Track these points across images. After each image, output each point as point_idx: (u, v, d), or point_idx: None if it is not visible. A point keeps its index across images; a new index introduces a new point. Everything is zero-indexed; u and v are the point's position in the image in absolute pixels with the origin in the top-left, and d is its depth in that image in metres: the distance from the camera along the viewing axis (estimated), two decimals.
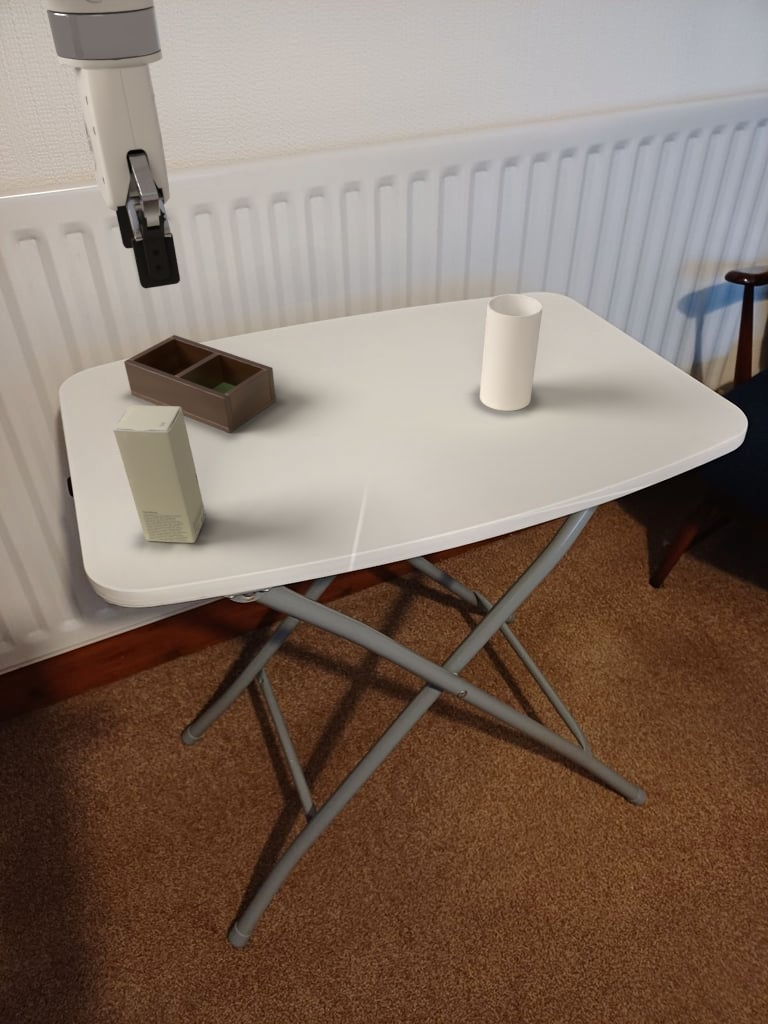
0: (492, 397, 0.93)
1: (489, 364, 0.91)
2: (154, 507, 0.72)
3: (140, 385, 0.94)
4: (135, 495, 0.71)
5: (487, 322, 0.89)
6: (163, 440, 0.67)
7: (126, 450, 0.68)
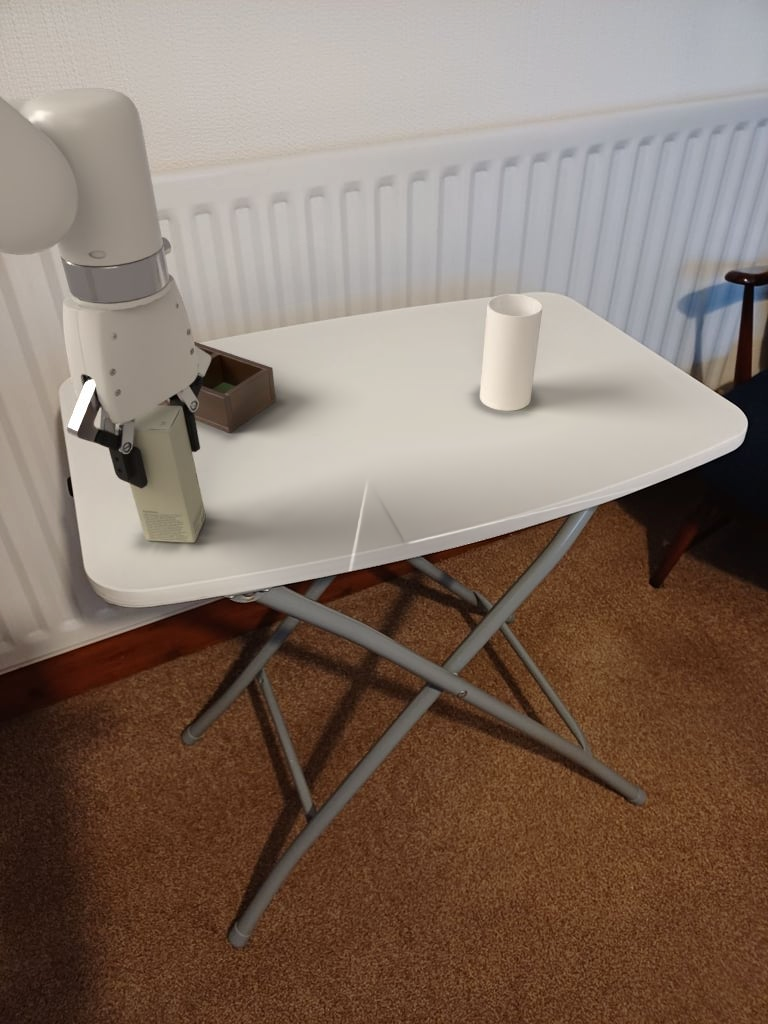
0: (492, 397, 0.93)
1: (489, 364, 0.91)
2: (155, 506, 0.72)
3: None
4: (135, 494, 0.71)
5: (487, 322, 0.89)
6: (163, 439, 0.67)
7: None
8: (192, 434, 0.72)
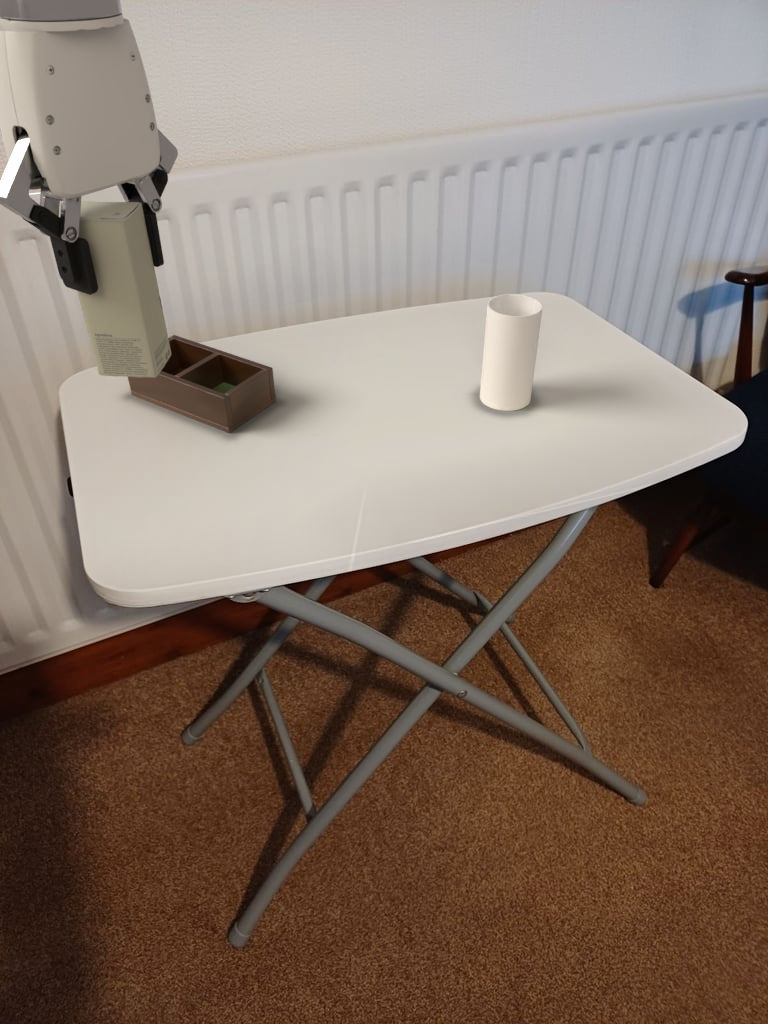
0: (492, 397, 0.93)
1: (489, 364, 0.91)
2: (109, 327, 0.61)
3: (140, 385, 0.94)
4: (85, 311, 0.60)
5: (487, 322, 0.89)
6: (117, 232, 0.56)
7: None
8: (154, 241, 0.61)
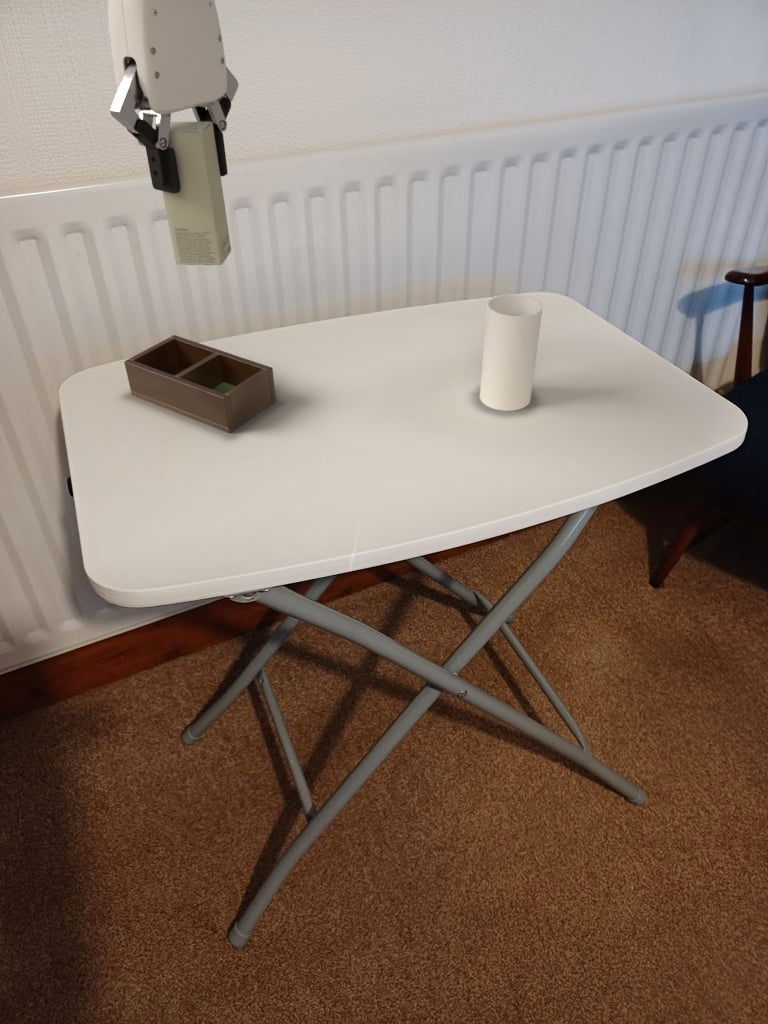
0: (492, 397, 0.93)
1: (489, 364, 0.91)
2: (186, 223, 0.78)
3: (140, 385, 0.94)
4: (168, 209, 0.77)
5: (487, 322, 0.89)
6: (196, 142, 0.73)
7: None
8: (220, 155, 0.77)
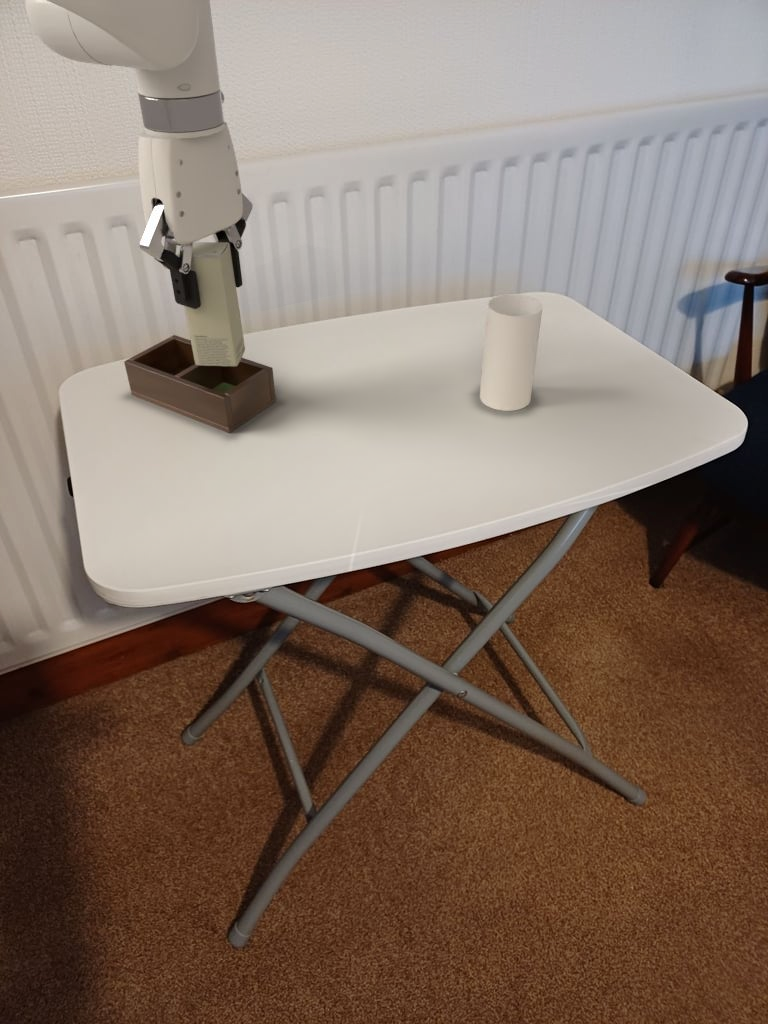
0: (492, 397, 0.93)
1: (489, 364, 0.91)
2: (205, 331, 0.86)
3: (140, 385, 0.94)
4: (189, 320, 0.85)
5: (487, 322, 0.89)
6: (215, 265, 0.81)
7: None
8: (236, 270, 0.85)
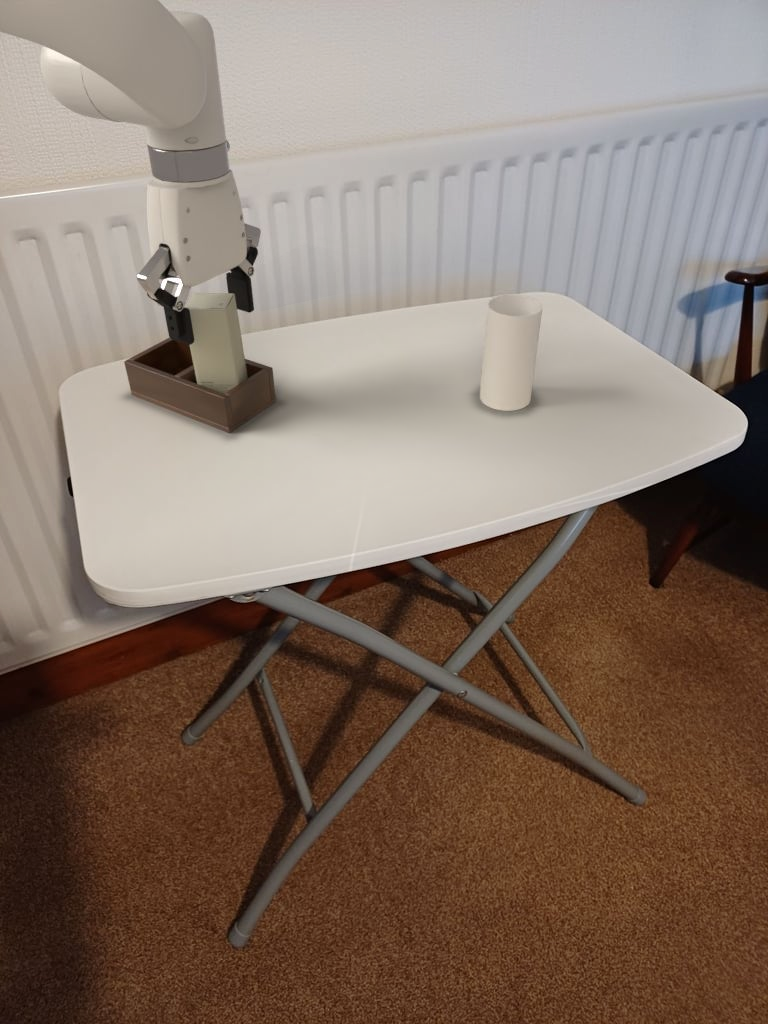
0: (492, 397, 0.93)
1: (489, 364, 0.91)
2: (211, 377, 0.89)
3: (140, 385, 0.94)
4: (196, 367, 0.89)
5: (487, 322, 0.89)
6: (221, 317, 0.84)
7: None
8: (248, 296, 0.88)
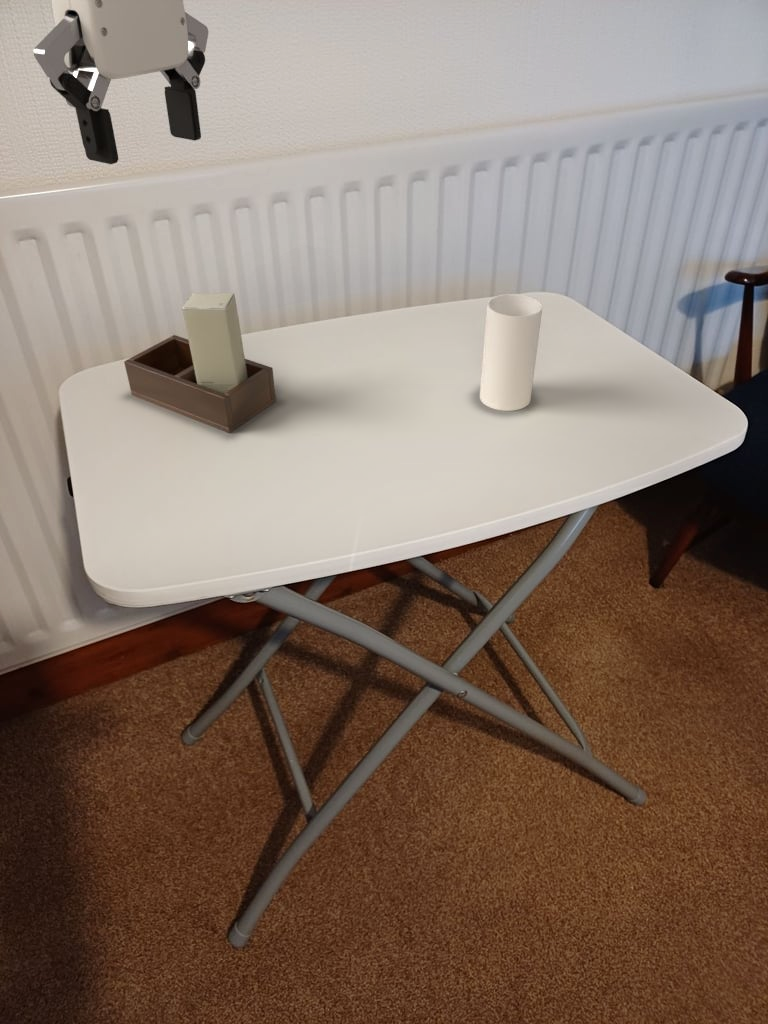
0: (492, 397, 0.93)
1: (489, 364, 0.91)
2: (211, 377, 0.89)
3: (140, 385, 0.94)
4: (196, 367, 0.89)
5: (487, 322, 0.89)
6: (221, 317, 0.84)
7: (191, 326, 0.85)
8: (193, 115, 0.69)
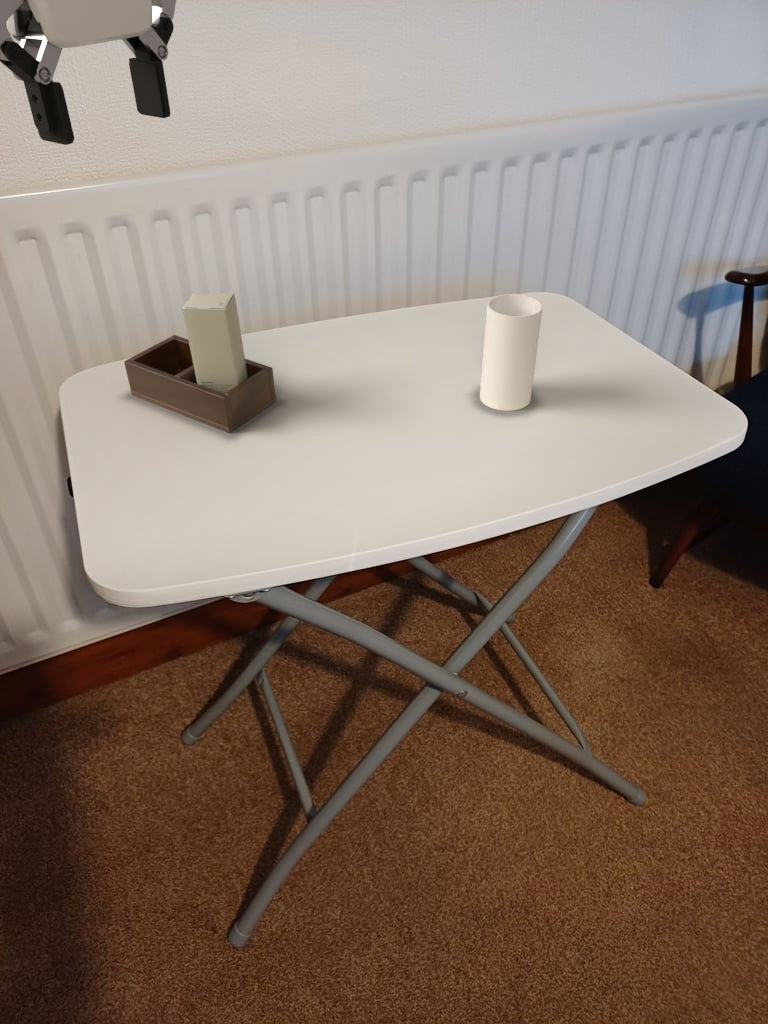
0: (492, 397, 0.93)
1: (489, 364, 0.91)
2: (211, 377, 0.89)
3: (140, 385, 0.94)
4: (196, 367, 0.89)
5: (487, 322, 0.89)
6: (221, 317, 0.84)
7: (191, 326, 0.85)
8: (160, 90, 0.62)
